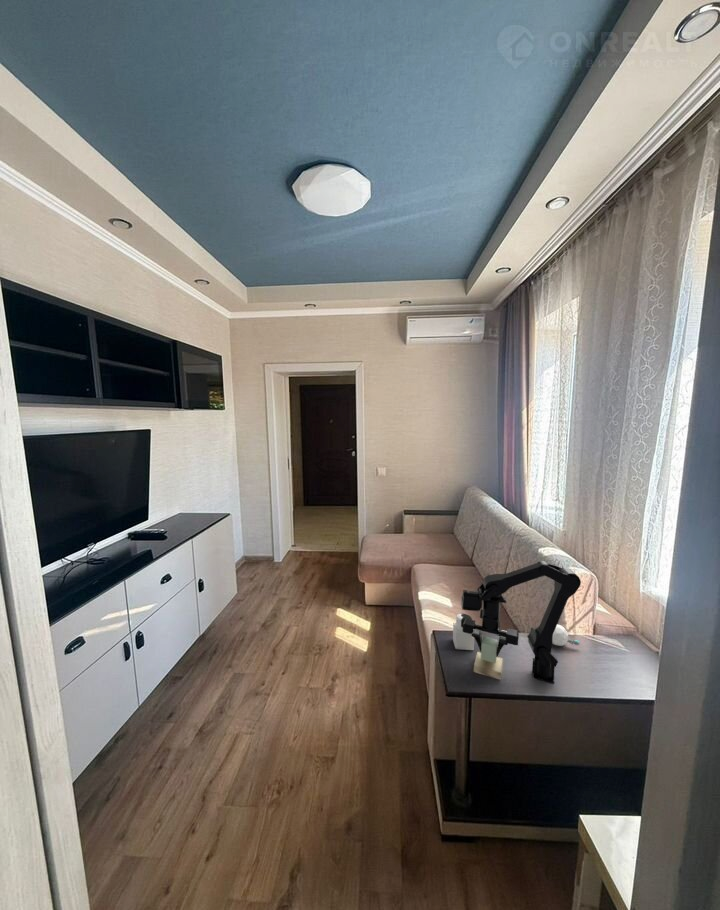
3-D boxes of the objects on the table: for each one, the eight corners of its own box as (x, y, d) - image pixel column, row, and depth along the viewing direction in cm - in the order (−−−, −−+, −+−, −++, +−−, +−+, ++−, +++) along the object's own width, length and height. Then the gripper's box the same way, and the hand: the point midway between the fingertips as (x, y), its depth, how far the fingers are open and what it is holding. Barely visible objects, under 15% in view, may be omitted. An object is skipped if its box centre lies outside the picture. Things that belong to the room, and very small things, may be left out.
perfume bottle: (545, 626, 157) (577, 637, 151) (543, 644, 151) (576, 656, 146) (548, 617, 152) (582, 628, 146) (546, 635, 146) (581, 648, 141)
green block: (497, 655, 134) (497, 639, 133) (495, 663, 129) (496, 646, 129) (482, 651, 136) (483, 636, 136) (480, 659, 131) (481, 642, 131)
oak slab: (502, 666, 135) (503, 658, 135) (500, 680, 127) (501, 672, 127) (477, 659, 139) (477, 651, 139) (473, 673, 131) (474, 664, 130)
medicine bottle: (470, 640, 151) (471, 612, 150) (473, 650, 144) (475, 621, 143) (452, 639, 151) (453, 611, 151) (455, 649, 144) (456, 619, 144)
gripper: (520, 608, 135) (518, 649, 136) (468, 597, 143) (466, 636, 144) (519, 622, 125) (516, 666, 126) (463, 609, 133) (461, 651, 134)
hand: (489, 654), depth 132 cm, fingers closed on green block, 5 cm apart
